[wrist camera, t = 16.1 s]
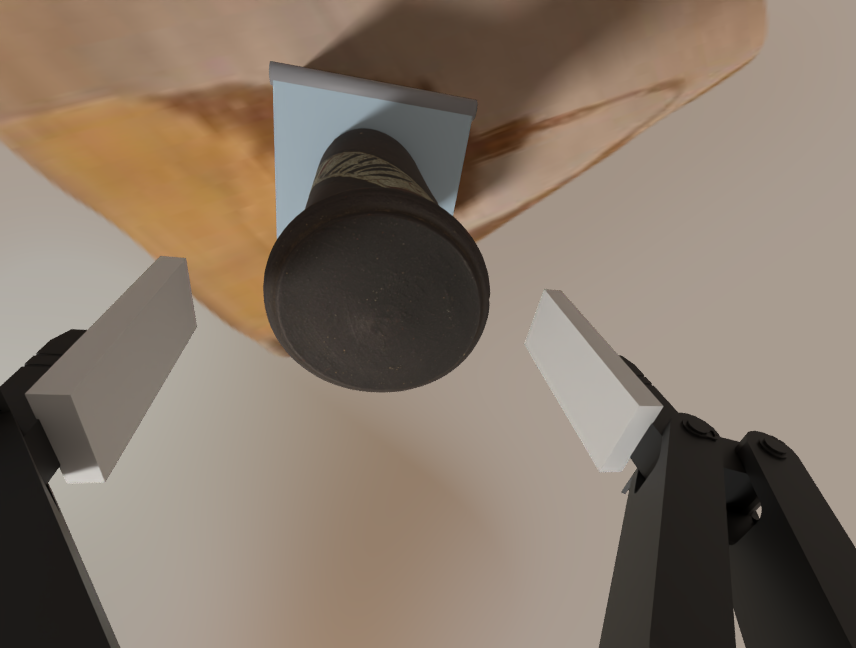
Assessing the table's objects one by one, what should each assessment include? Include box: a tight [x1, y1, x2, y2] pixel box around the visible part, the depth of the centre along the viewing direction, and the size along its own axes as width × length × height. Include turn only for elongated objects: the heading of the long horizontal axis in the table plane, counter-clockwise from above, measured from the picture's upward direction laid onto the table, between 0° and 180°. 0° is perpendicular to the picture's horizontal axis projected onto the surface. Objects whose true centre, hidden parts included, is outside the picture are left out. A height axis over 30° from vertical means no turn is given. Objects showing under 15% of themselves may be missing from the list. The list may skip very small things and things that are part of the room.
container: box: [263, 128, 490, 392], centre depth 23 cm, size 9×9×20 cm
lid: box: [269, 61, 477, 239], centre depth 32 cm, size 15×14×1 cm
